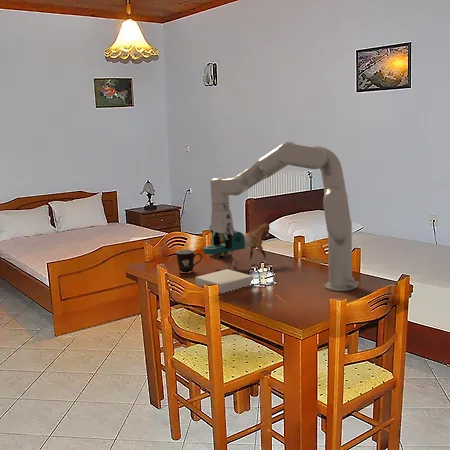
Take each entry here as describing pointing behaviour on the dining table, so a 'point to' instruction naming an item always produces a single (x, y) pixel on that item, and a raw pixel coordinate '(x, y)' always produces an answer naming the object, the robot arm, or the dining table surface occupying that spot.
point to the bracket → (237, 244)
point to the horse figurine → (249, 243)
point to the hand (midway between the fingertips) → (222, 246)
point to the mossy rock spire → (220, 240)
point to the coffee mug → (186, 260)
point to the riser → (225, 280)
